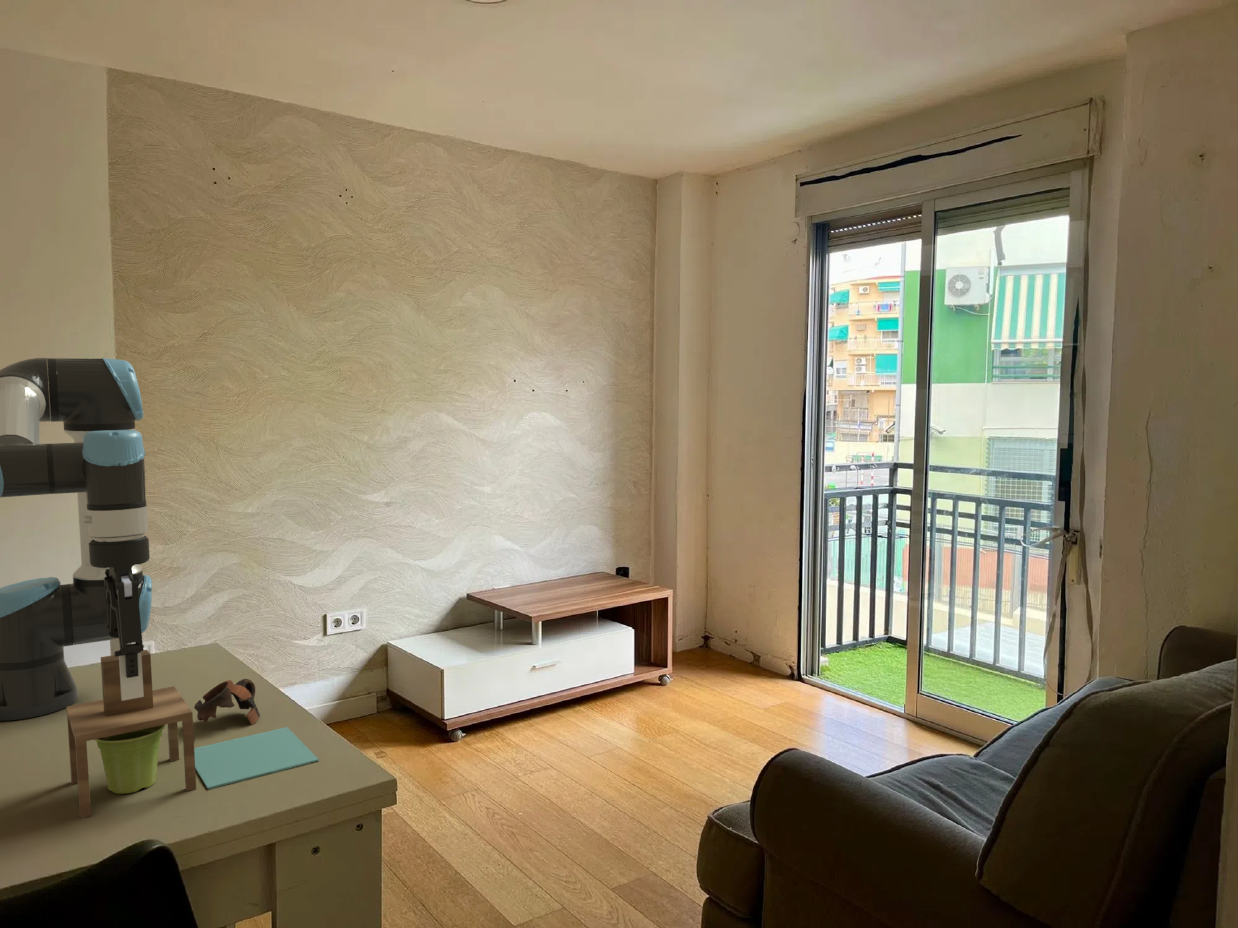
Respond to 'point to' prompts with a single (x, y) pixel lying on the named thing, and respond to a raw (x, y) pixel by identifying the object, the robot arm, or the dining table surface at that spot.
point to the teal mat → (250, 757)
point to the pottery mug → (229, 700)
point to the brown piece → (127, 722)
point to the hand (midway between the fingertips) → (127, 688)
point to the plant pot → (131, 759)
